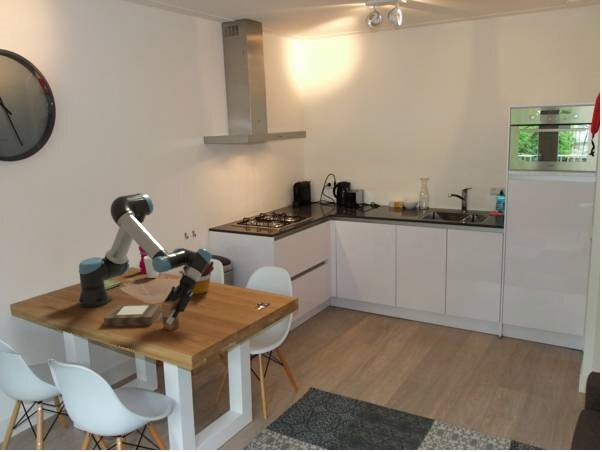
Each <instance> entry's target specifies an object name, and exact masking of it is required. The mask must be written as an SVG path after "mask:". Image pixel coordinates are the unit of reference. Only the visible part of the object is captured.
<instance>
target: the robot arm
mask: <svg viewBox="0 0 602 452" xmlns="http://www.w3.org/2000/svg"><path fill="white" fill-rule="evenodd" d="M153 210H154V203H153V200H152V198H151V197H150V196H149V195H148V194H147V193H142V192H141V193H133V194H129V195H121V196H118V197H117V198H115V199H113V201H112V202H111V206H110V216H111V218H112V220H113V222H114V223H115V224H116V225H117V226H118V230H117V232H116V235H115V238H114V241H113V243H112V246H111V248H110V249H109V250H107V251H106V253H105V256H104V257H103V258H101V257H97V256H96V257H95V256H94V257H90V258H87V259H83V260H82V261H81V262H79V264H78V273H79V280H80V294H79V298H78V306H80V307H83V308H93V307H94V308H95V307H100V306H103V305H106V304H108V303H109V302H110V296H109V293H108V292H107V291H108V290H106V289H105V285H104V280H107V279H109V280H112V279H113V278H118V277H120V276H123V275H125V274H126V273H127V272H128V270H130V269H129V268H130V261H129V258H128V253H129V249H130V248H131V245H132V242H133V241H135V243H136V244H137V245H138V247H139V246H140V247H141V248H142V249H143V250H144V251H145V252H146V253H147V255H148V256H149V257H150V258H151V259H152V260H153V261H152V266H153V268H154V270H155V271H156V272H158V273H159V274H160V273H165V272H169V271H171V270H174V269H177V268H180V267H184V266H185V265H186V266H188V268H187V269H186V271H185V273H184V275H183V276H182V275H181V278H180V279H179V281H178V283H179V285H177V286H172V287H171V290H170V291H169V293H168V295H167V296H166V298H165V299H164V301H163V303H164V302H167V301H170V300H171V301H175V302H177V306H176V308H174V309H175V310H174V309H173V311H172V313H171V314H170V316H169V318H168V320H167V321H166V322H167V323H168V324H169V325H171V324H172V322H173V320H174V319H175V318H176V317H177V315H178V316H179V313H183V312H184V311H185V309H186V308H187V306H188V304H189V303H190V301H191V299H192V298H193V297H194V296H195V294H194V293H192V292H191V290H192V289H194V287H195V286H196V284H197V283H196V282H198V280H199V279H200V277H201V275H202V274H203V272H204V270H205V268H206V267H207V265H208V264H209V262H211V261H212V260H211V259H212V257H213V255H212V254H211V252H210V251H208V249H204V248H201V247H200V248H199V249H198V250H197V251H193V250H189V249H186V248H185V247H176V248H175V249H174V250H173V251H172V252H170V253H169V252H168V251H167V250H166V249H165V248H164V247H163V246H162V245H161V244H160V243H159V241H157V239H156V238H155V237H154V236H153V235H152V234H151V233H150V232H149V231H148V229H146V228H145V226H144V225H142V223H144V221H145V220H146V216H150V215H151V214H153ZM209 265H210V264H209ZM157 320H158V321H159V322H161V323H163V314H162V311H161V312H160V315H158V317H157Z"/></svg>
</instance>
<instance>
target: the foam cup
mask: <svg viewBox="0 0 602 452" xmlns="http://www.w3.org/2000/svg"><path fill="white" fill-rule="evenodd" d="M152 261H153V260H152V259H151V258H150V257H149V256H145V257H144V263H145V267H146V272H147V273H146V274H147V279H148V278H153V277H156V276H158V277H159V275H160V273H158V272H156V271H155V270H154V268H153V266H152Z"/></svg>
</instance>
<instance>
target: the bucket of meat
mask: <svg viewBox="0 0 602 452" xmlns="http://www.w3.org/2000/svg"><path fill="white" fill-rule="evenodd" d="M182 267H183V269H180V270H179V271H178V274H180V275H181V277H182V276H183V275H184V273H185V271H186V269H187V268H188V266H186V265H183V266H182ZM214 269H215V268H214V261H210V262H209V264H208V265H207V267H206V268H205V270H204V272H203V274H202V275H201V277H200V279H199V280H198V282H196V283H197V284H196V286H195V287H194V289H192V290H191V292H192V293H194V295H201V294H202V295H203V294H204V293H207V292H208V290H209V287H210V281H211V276H212V272H213V271H214Z"/></svg>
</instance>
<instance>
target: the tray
mask: <svg viewBox="0 0 602 452" xmlns="http://www.w3.org/2000/svg"><path fill="white" fill-rule="evenodd" d="M161 312H162V307H161V304H160V303H149V304H147V303H146V304H118V305H115V306H114V307H112V309H111V310H110V311H109V312H108V313H107V314H106V315H105V316H104V318H103V323H104V325H103V326H104V327H124V326H125V327H129V326H133V327H134V326H152V325H153V324H154V322H155V321H156V319H158V317H159V316H160V315H159V314H161Z"/></svg>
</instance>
